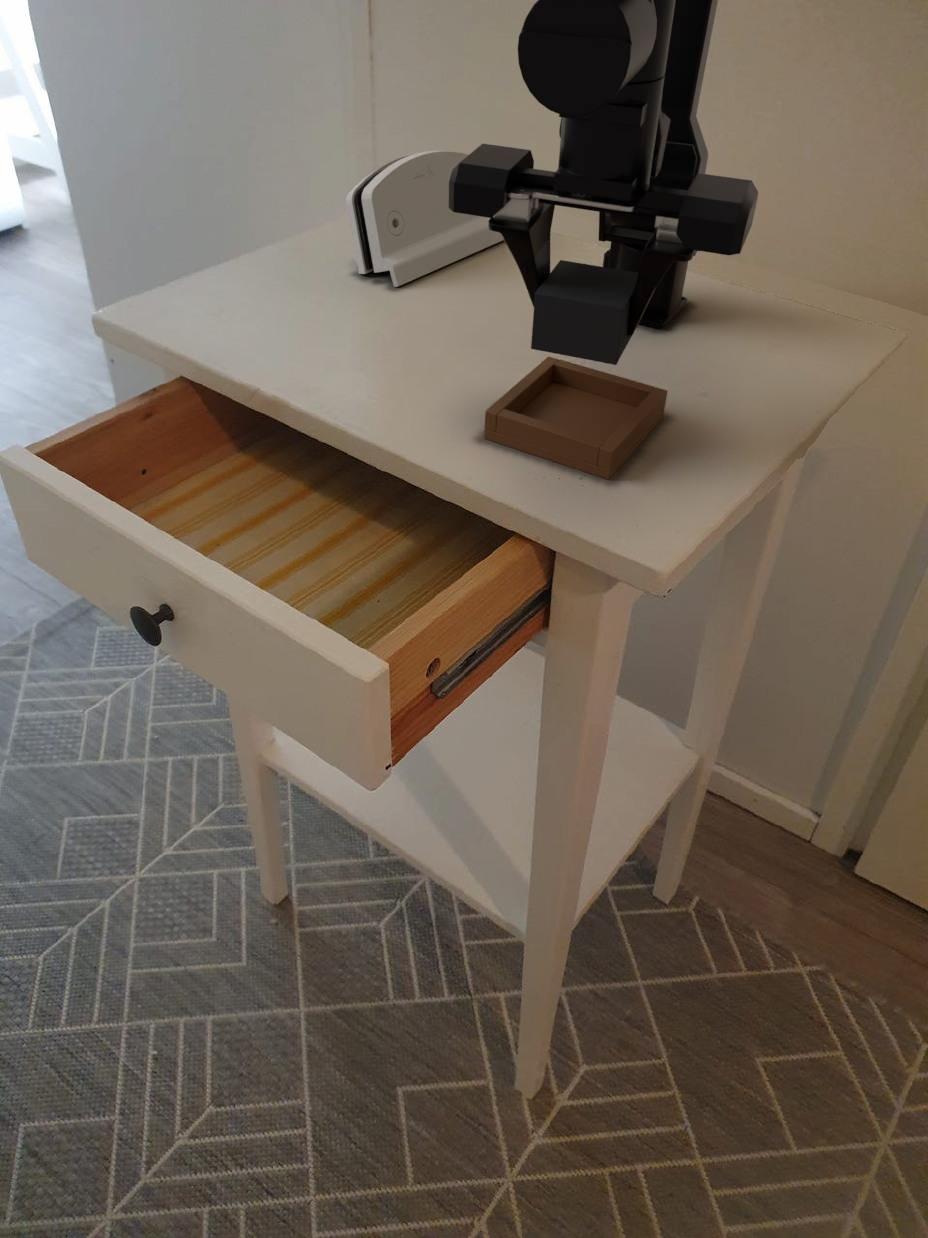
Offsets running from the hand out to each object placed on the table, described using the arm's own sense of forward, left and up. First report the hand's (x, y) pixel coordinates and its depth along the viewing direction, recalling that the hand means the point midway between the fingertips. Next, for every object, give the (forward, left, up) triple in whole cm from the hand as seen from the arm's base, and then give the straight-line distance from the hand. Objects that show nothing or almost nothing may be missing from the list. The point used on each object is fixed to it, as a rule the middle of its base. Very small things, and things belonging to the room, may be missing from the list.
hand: (586, 324), depth 67 cm
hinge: (+27, -22, -8) cm, 36 cm away
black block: (0, 0, -1) cm, 1 cm away
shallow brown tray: (0, 0, -8) cm, 8 cm away
